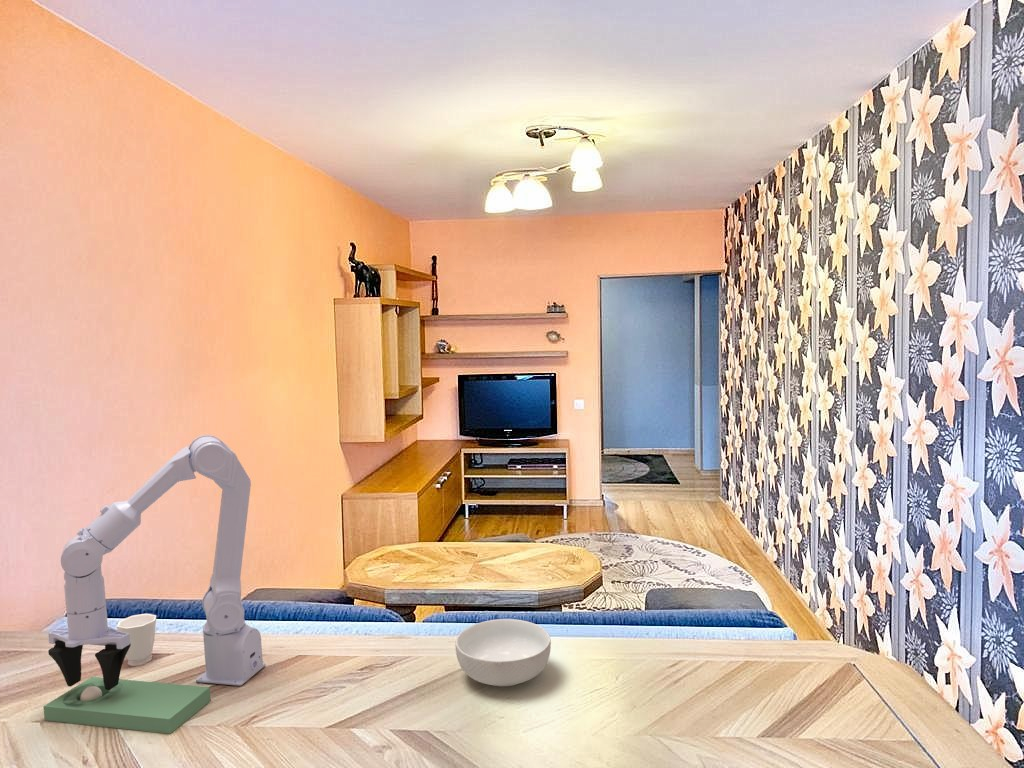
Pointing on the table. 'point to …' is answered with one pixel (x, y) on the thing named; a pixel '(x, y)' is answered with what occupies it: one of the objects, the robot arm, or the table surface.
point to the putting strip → (130, 705)
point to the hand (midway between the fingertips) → (93, 685)
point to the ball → (91, 693)
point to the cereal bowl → (503, 651)
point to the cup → (139, 637)
